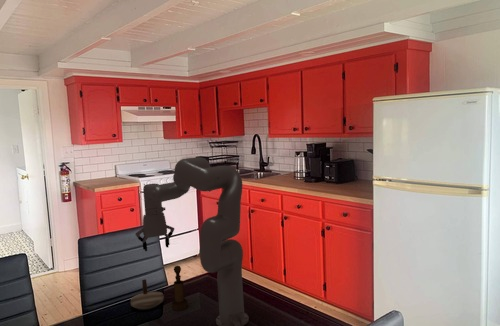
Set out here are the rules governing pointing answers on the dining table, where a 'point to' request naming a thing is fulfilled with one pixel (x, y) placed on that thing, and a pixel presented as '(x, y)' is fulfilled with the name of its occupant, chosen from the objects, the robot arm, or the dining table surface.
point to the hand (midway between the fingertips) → (156, 248)
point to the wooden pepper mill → (179, 292)
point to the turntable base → (147, 308)
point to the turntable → (147, 298)
